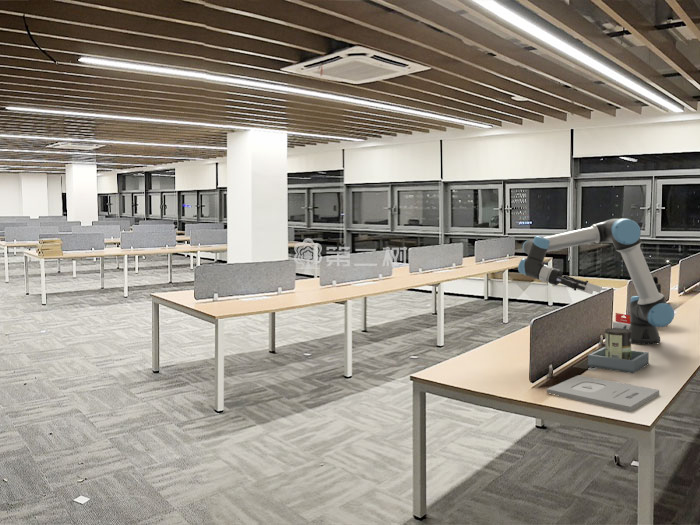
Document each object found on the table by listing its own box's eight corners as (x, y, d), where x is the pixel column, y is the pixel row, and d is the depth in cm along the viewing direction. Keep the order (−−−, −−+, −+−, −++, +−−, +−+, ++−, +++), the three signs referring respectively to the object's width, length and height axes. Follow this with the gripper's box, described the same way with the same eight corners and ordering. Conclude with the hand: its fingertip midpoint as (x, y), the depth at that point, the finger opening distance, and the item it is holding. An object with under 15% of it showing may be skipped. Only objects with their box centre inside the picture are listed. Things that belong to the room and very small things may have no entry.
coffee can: (627, 360, 253) (627, 327, 252) (634, 366, 243) (634, 332, 242) (602, 359, 255) (602, 327, 254) (607, 365, 245) (608, 332, 244)
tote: (604, 357, 262) (604, 346, 262) (648, 364, 249) (648, 352, 249) (588, 366, 249) (588, 354, 248) (633, 373, 236) (633, 361, 236)
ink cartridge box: (629, 334, 309) (629, 316, 308) (612, 330, 319) (612, 313, 318) (632, 333, 310) (633, 315, 309) (615, 330, 320) (615, 312, 319)
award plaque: (630, 413, 192) (630, 406, 192) (546, 394, 214) (546, 388, 214) (659, 395, 209) (659, 389, 209) (578, 380, 231) (578, 375, 231)
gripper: (557, 282, 283) (601, 297, 271) (539, 284, 263) (586, 300, 251) (562, 267, 282) (606, 281, 270) (544, 268, 262) (592, 283, 250)
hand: (597, 290), depth 260 cm, fingers open, 13 cm apart
